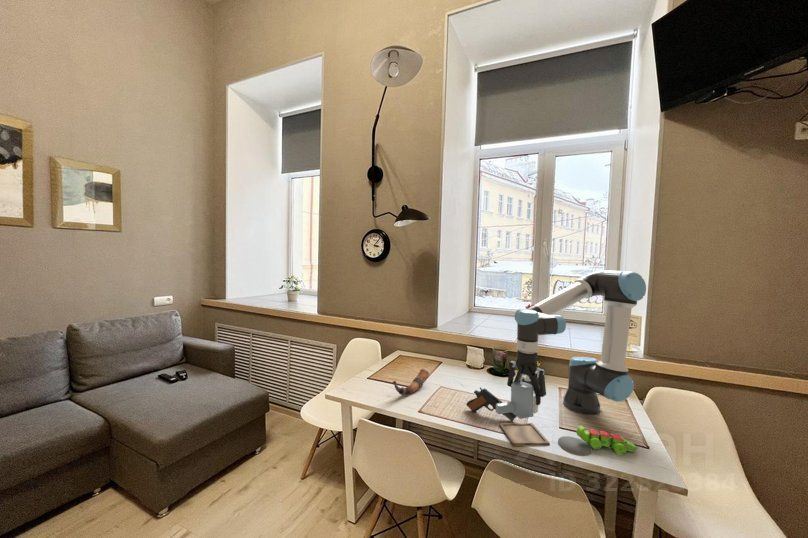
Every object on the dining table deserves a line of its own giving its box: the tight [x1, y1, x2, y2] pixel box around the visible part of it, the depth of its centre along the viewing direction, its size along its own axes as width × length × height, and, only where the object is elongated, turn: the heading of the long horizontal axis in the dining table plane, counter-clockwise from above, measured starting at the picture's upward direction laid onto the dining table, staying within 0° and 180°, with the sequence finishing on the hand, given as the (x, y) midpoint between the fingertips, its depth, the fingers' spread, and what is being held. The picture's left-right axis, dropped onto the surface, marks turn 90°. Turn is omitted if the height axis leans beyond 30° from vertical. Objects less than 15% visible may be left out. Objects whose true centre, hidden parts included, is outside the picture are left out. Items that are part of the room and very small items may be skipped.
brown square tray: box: [498, 422, 550, 447], centre depth 124 cm, size 14×14×1 cm
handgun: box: [465, 387, 518, 422], centre depth 138 cm, size 2×19×12 cm, turn 62°
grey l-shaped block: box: [495, 381, 534, 420], centre depth 121 cm, size 15×8×11 cm, turn 108°
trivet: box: [557, 435, 593, 456], centre depth 117 cm, size 11×11×1 cm
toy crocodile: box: [576, 425, 638, 455], centre depth 117 cm, size 20×7×6 cm, turn 76°
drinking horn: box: [392, 368, 430, 396], centre depth 159 cm, size 5×29×10 cm, turn 144°
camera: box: [519, 371, 539, 385], centre depth 172 cm, size 16×9×10 cm, turn 131°
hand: (525, 408), depth 124 cm, fingers closed on grey l-shaped block, 7 cm apart
